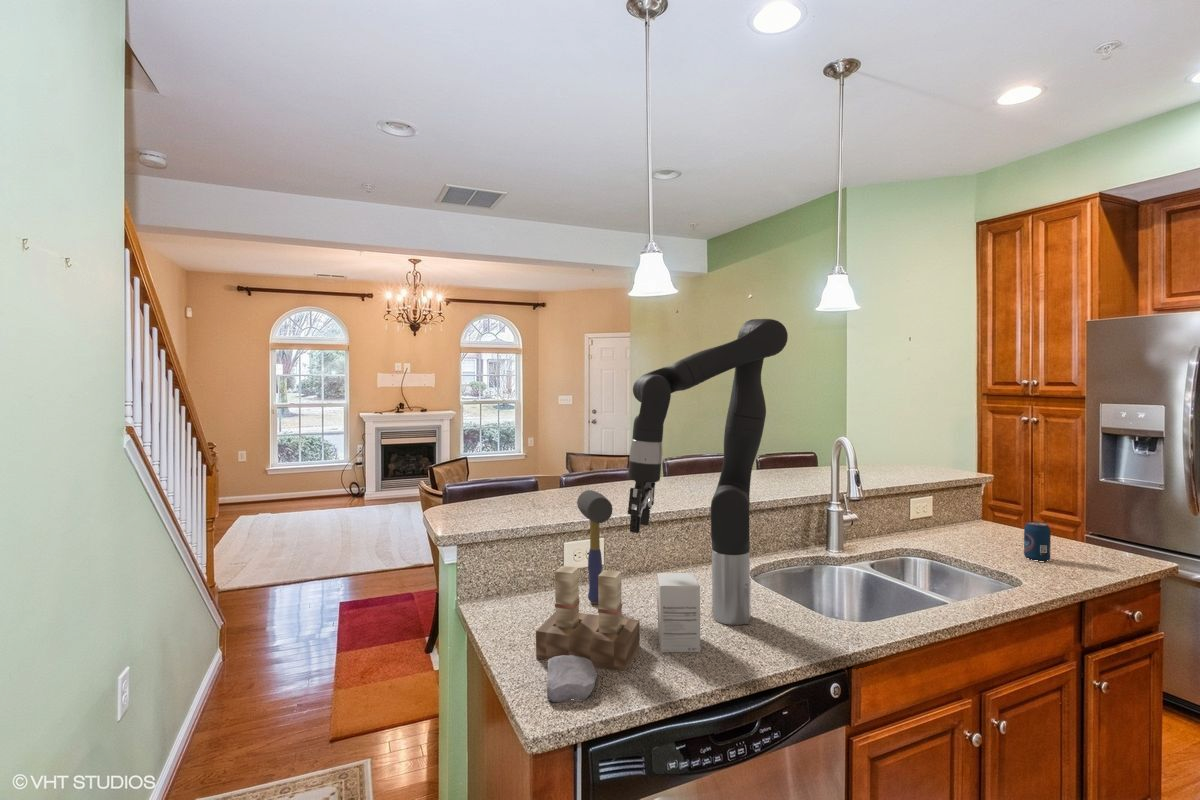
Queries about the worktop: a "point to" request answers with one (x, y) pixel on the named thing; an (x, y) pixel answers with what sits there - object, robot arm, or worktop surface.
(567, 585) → the far birch peg
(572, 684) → the stone block
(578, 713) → the worktop surface
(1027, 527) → the soda can
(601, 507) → the rubber mallet
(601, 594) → the near birch peg
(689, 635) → the supplement box
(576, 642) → the wooden mortise block
